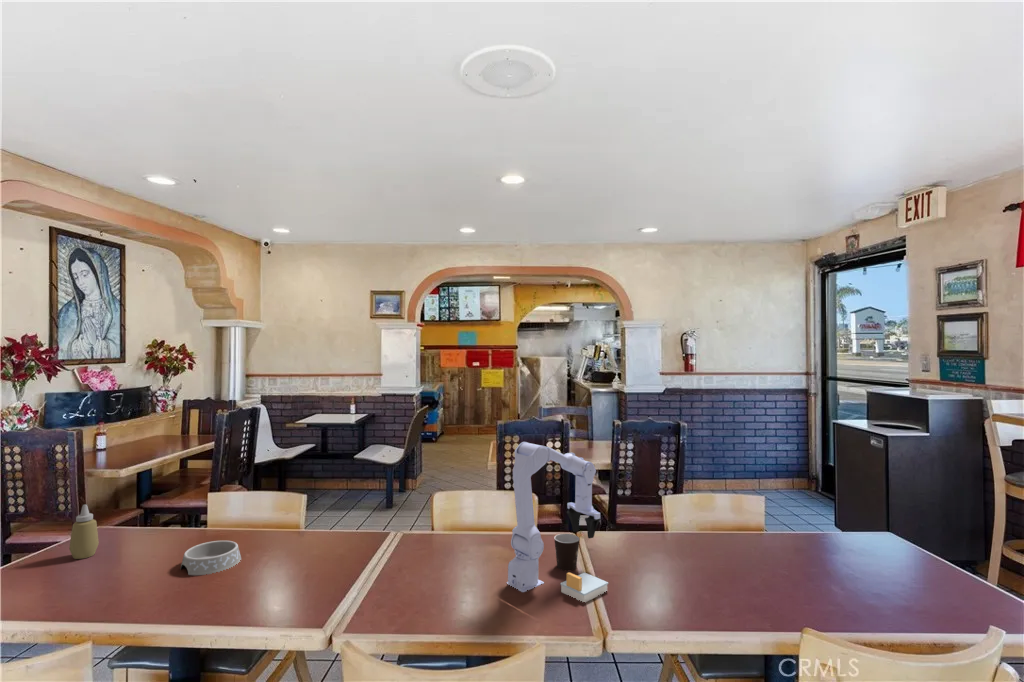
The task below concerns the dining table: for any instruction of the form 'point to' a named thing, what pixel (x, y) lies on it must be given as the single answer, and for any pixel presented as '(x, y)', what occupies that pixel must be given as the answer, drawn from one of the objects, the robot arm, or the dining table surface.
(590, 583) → the lid
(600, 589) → the tub
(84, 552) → the squeeze bottle
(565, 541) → the coffee mug
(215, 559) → the dog bowl
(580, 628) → the dining table surface
